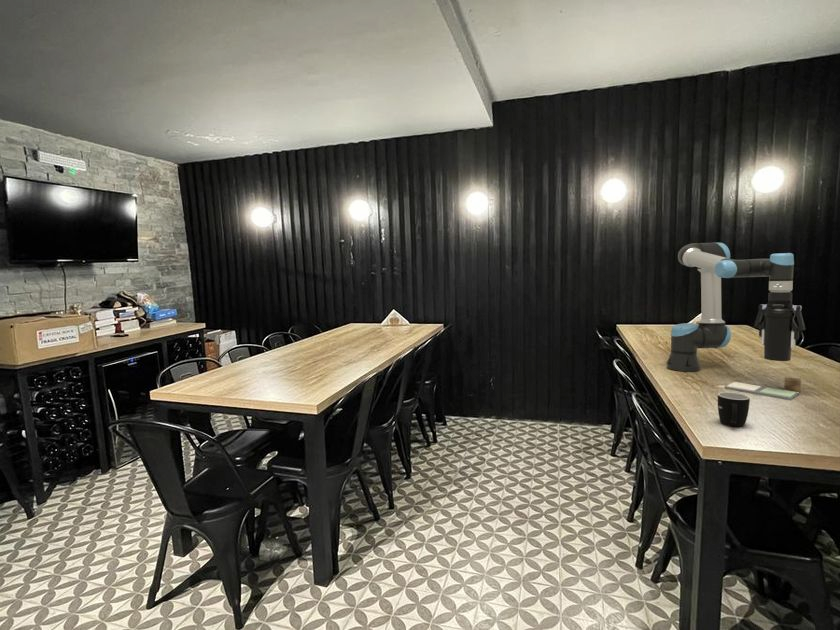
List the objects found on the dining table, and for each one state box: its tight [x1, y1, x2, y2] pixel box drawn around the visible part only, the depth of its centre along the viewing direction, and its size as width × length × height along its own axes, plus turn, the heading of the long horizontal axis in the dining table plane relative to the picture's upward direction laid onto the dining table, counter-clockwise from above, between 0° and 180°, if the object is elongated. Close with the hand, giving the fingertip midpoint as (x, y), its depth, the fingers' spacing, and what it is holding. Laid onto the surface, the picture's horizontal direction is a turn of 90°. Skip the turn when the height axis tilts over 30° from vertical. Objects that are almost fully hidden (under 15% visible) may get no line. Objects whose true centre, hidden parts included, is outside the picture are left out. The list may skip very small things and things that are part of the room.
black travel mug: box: [762, 304, 796, 362], centre depth 182 cm, size 10×10×23 cm
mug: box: [717, 391, 751, 428], centre depth 151 cm, size 12×9×10 cm
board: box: [724, 381, 800, 401], centre depth 187 cm, size 23×11×1 cm, turn 36°
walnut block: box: [783, 376, 802, 394], centre depth 187 cm, size 5×5×5 cm
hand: (777, 346), depth 182 cm, fingers closed on black travel mug, 9 cm apart
